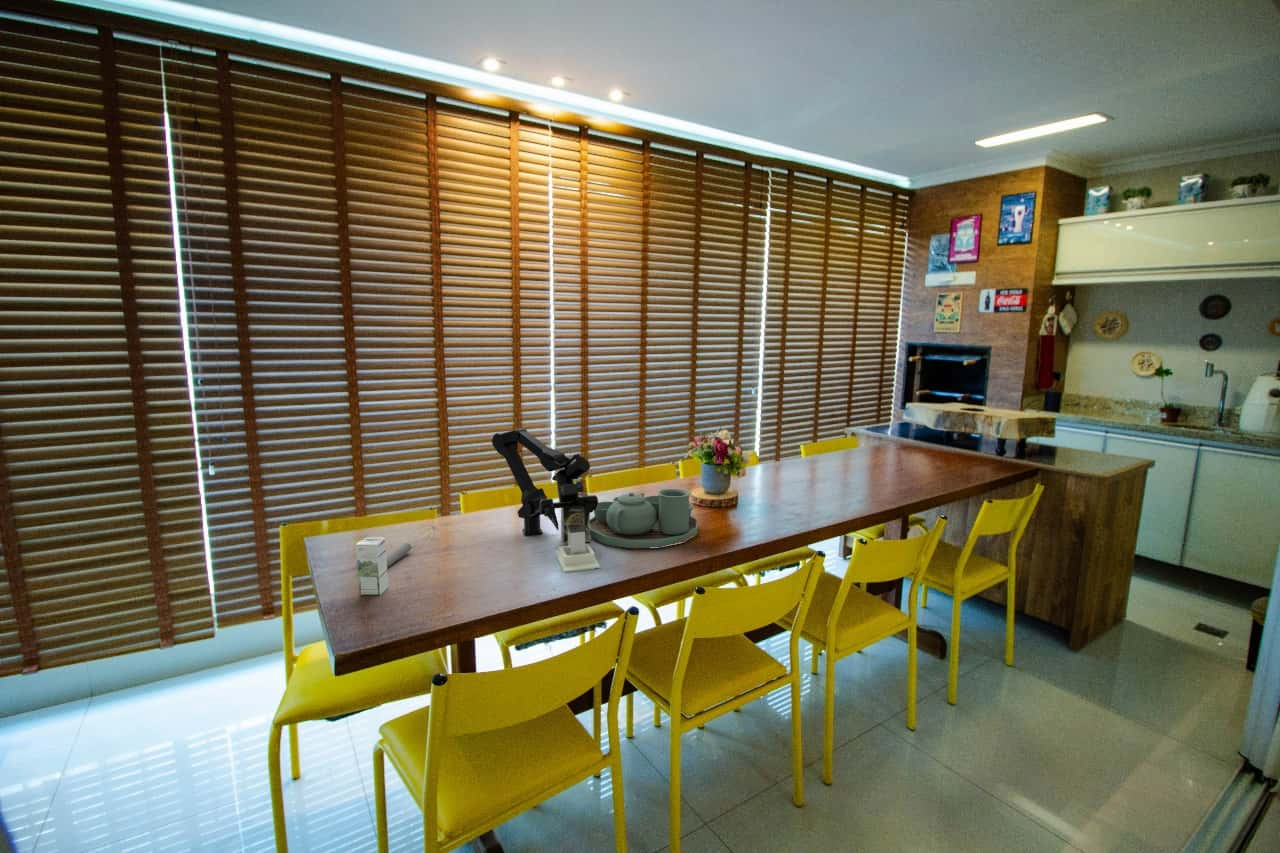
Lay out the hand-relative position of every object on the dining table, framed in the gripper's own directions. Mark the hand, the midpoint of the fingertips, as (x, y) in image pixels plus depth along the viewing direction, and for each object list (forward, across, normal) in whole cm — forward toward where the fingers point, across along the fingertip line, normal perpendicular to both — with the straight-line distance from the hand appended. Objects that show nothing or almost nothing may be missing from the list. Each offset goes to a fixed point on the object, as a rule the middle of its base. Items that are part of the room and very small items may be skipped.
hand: (572, 528), depth 181 cm
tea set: (-4, +28, +17) cm, 33 cm away
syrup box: (+15, -57, -2) cm, 59 cm away
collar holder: (+10, 0, +2) cm, 10 cm away
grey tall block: (+10, 0, +2) cm, 10 cm away
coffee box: (-2, +3, +14) cm, 15 cm away
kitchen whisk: (-5, -50, +18) cm, 54 cm away
